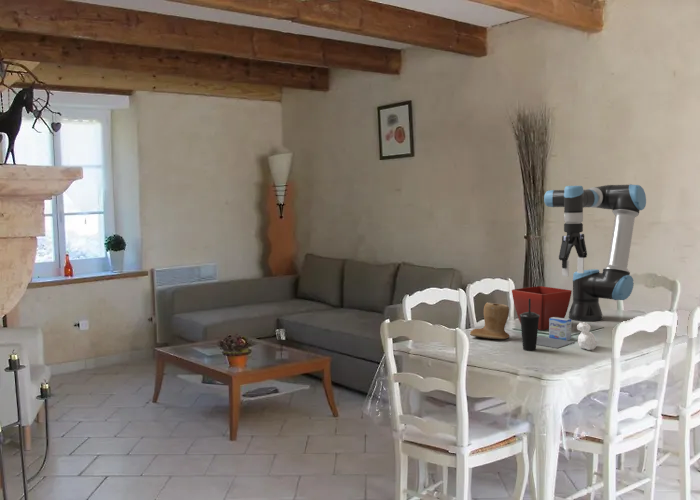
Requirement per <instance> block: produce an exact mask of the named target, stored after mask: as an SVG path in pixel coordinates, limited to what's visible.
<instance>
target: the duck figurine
mask: <svg viewBox="0 0 700 500" xmlns="http://www.w3.org/2000/svg"><path fill="white" fill-rule="evenodd" d="M576 329H577V331H580V334H579V335H578V337H577V344H578V346H579V347H580V349H584V350H587V351H594V350H595V349H596V347H597V346H598V345H597V341H596V337H595V335H594V333H592V332H591V325H590V324H588V322H586V321H582V322H581V321H579V323H578V324H577V326H576Z"/></svg>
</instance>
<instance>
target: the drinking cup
mask: <svg viewBox="0 0 700 500" xmlns="http://www.w3.org/2000/svg"><path fill="white" fill-rule="evenodd" d="M530 311H531V299H529V312H524V313H522V314H520V315H519V316H520V320H521V323H520V330H521V337H522V338H521V340H522V341H521V343H522V350H523V351H528V352H533V351H536V350H537V345H536V343H537V337H538V332H539V331H538V330H539V329H538V322H539V317H540V315H539V314H536V313H534V312H530Z"/></svg>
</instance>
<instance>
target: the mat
mask: <svg viewBox="0 0 700 500" xmlns="http://www.w3.org/2000/svg"><path fill="white" fill-rule="evenodd" d="M572 343H573V344H575V343H576V342H575V341H571V340H568V341H566V340H560V339H554V338H549V336H548V337H547V336H540V335H539V336H538V335H537V343H536V346H542V347H546V348H551V349H561V348H563V347H566V345H567V346H570V345H572ZM569 344H570V345H569Z"/></svg>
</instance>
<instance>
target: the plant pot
mask: <svg viewBox="0 0 700 500" xmlns="http://www.w3.org/2000/svg"><path fill="white" fill-rule="evenodd" d="M572 293H573V290H571V289H566V288H565V289H564V288H558V287H557V288H556V287H551V286H550V287H549V286H542V285H541V286H540V285H539V286H537V285H536V286H531V287H530V286H528V287H522V288H521V287H519V288H515V289H511V295H512V300H513V305H514V308H515V311H516V315H517V317H518V321H519V323H520V324H521V320H520V316H519V315H520V314H522V313H524V312H529V299H531V311H530V312H534V313H536V314H539V315H540V317H539V322H538V330H539V331H545V330H546V329H547V330H549V319H550V318H552V317H558V318H565V319H566V314H567V313H568V310H569V306H570V302H571V298H572V297H571V296H572ZM547 330H546V331H547Z"/></svg>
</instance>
